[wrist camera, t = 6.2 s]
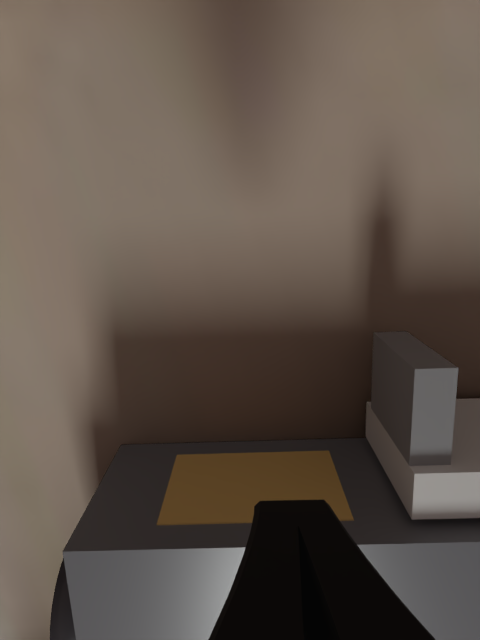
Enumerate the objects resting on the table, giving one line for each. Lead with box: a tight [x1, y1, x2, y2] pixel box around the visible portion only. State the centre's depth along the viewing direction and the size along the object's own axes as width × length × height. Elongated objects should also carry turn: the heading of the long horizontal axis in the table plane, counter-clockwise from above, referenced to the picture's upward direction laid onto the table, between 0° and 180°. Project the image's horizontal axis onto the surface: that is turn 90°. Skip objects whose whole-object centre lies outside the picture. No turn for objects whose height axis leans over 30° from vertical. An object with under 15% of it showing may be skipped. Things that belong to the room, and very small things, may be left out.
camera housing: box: [50, 438, 480, 640], centre depth 16 cm, size 19×9×7 cm, turn 92°
